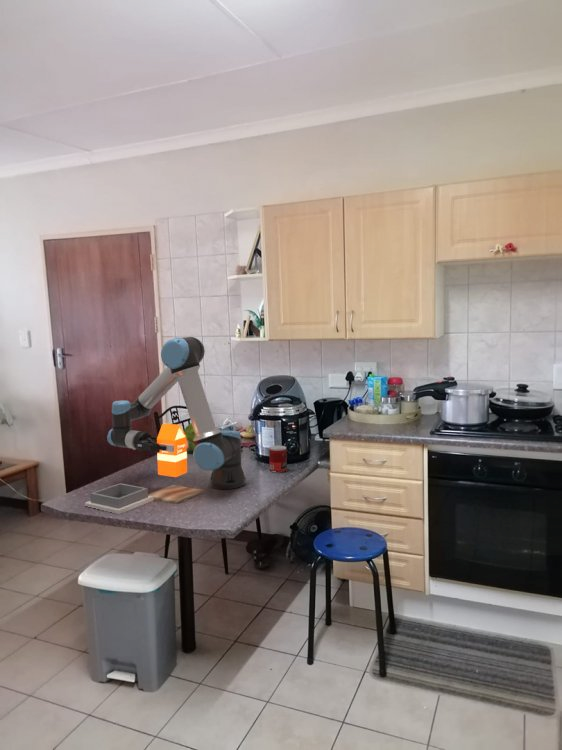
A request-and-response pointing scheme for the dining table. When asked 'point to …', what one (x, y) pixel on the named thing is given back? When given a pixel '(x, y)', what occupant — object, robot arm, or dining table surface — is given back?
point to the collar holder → (126, 502)
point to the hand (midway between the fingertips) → (181, 446)
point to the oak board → (175, 493)
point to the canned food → (278, 458)
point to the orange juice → (176, 460)
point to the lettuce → (190, 436)
